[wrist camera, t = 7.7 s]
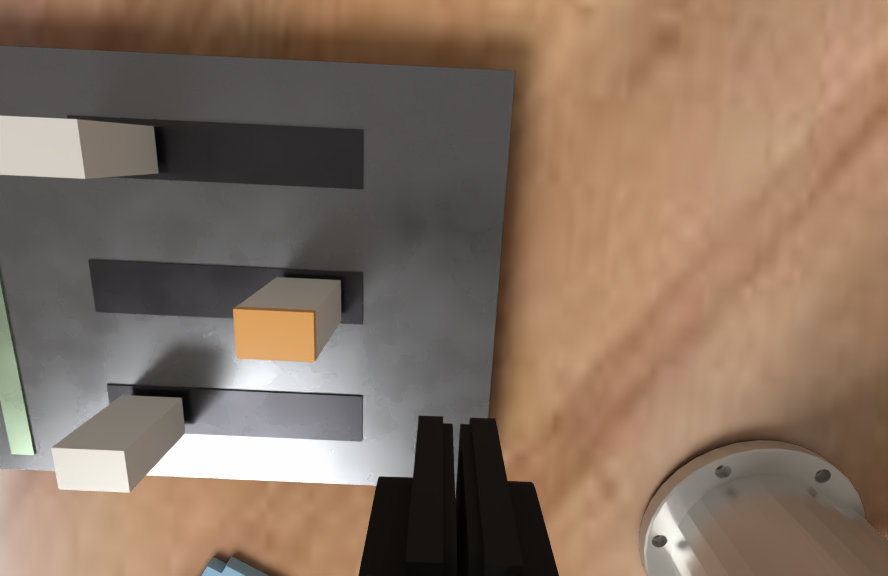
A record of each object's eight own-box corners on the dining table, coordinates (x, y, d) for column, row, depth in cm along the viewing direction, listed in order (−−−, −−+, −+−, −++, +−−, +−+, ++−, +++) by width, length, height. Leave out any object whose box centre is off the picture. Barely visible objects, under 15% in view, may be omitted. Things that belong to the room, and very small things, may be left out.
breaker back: (181, 397, 25) (123, 451, 20) (185, 433, 25) (129, 492, 21) (121, 394, 25) (51, 447, 20) (126, 430, 25) (58, 489, 21)
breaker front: (153, 126, 21) (76, 119, 17) (158, 173, 22) (85, 178, 18) (84, 122, 21) (-12, 114, 17) (90, 170, 22) (0, 174, 17)
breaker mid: (340, 280, 23) (313, 312, 18) (341, 320, 24) (314, 362, 19) (276, 277, 23) (232, 308, 18) (278, 317, 24) (236, 358, 19)
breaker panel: (509, 77, 23) (515, 70, 21) (480, 467, 29) (482, 491, 27) (-92, 48, 23) (-144, 38, 21) (-5, 445, 29) (-40, 468, 26)
